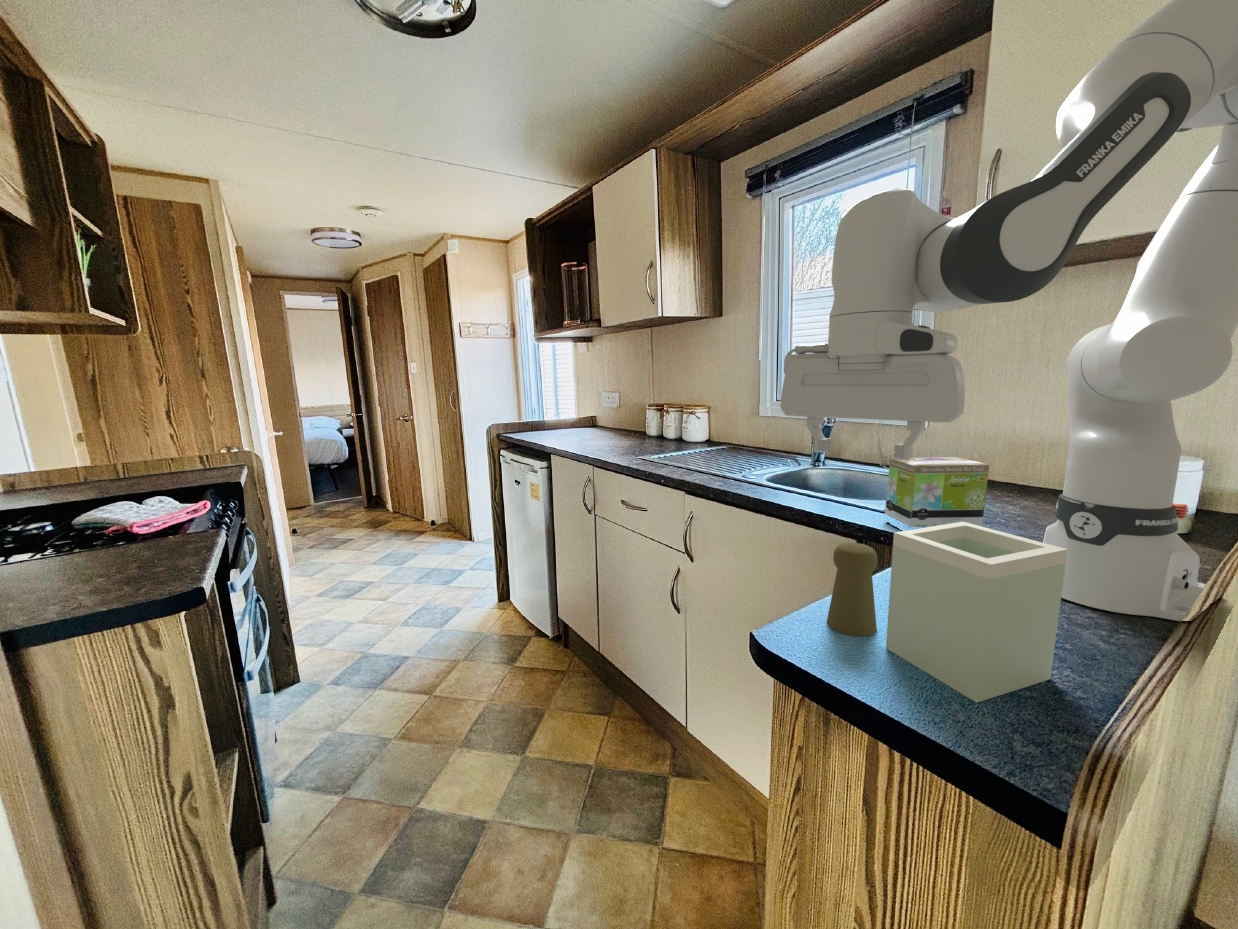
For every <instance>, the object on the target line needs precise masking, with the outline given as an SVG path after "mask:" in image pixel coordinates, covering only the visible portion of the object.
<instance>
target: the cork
mask: <svg viewBox="0 0 1238 929" xmlns="http://www.w3.org/2000/svg"><path fill="white" fill-rule="evenodd" d="M832 560H833V563H834V564H833V565H834V566H835V567H836V574H835V577H834V578H835V579H834V583H833V587H832V588H833V589H832V594H831V599H830V604H829V607H828V608H829V609H828V614H827V618H826V624H827V626H828V627H829V628H830V629H832V630H834V631H835V632H837V633H839V634H842V635H846V636H849V637H858V638H865V637H866V638H867V637H870V636H873V635H875V634H876V633H877V632H878V630H877V629H878V627H877V616H876V605H875V596H874V580H873V572H874V571H875V570H876V569H877V567H878V564H879V562H878V560H879V559H878V554H877V552H876V550H875V549H874V548H872V546H869V545H867V544H865V543H858V542H845V543H840V544H838V545H837V546H836V547H835V549H834V550H833V557H832Z"/></svg>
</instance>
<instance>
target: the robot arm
mask: <svg viewBox="0 0 1238 929" xmlns="http://www.w3.org/2000/svg"><path fill="white" fill-rule="evenodd" d="M1055 120H1056V122H1055V123H1056V124H1055V131H1056V132H1055V134H1056V138H1057V142H1058V144H1059V147H1060V148H1061V150H1060V152H1059V153H1058V154H1057V155H1056V156H1055V157H1054V158H1053V159H1052V160H1051V161H1050V162H1049V163H1048V164H1047V165H1046V166H1045V167H1044V168H1043V169H1042V170H1041V171H1040V172H1039V174H1037V175H1036V176H1035V177H1034V178H1033V179H1032V180H1030V181H1029V182H1028V181H1027V182H1025V183H1023V184H1020V185H1018V186H1014V187H1012V188H1010V189H1007V190H1005V191H1002V192H1000V193H998V194H996V195H994V196H993V197H991V198H989V199H987V200H986V201H984V202H982V203H981V204H979V205H978V206H976V207H975V208H973V209H971V210H970V211H968V212H966V213H964V214H962V215H960V216H958V217H956V218H955V217H951V216H948V215H945V214H943V213H941V212H939V211H937V210H935V209H933V208H931V207H930V206H928V205H927V204H926V203H924V202H923V201H922V200H920V199H919V197H918V196H917V194H916V193H915V191H914V190H913V189H910V188H893V189H889V190H884V191H881V192H877V193H875V194H872V195H870V196H867V197H865V198H862V199H861V200H859V201H858V202H856V203H855V204H854V205H852V206H851V207H850V208H849V209H848V210H847V211H846V212H845V213H844V214H843V215H842V216H841V218H840V220H839V224H838V227H837V231H836V234H835V240H834V241H835V242H834V248H833V255H832V256H833V257H832V268H831V285H832V290H833V302H832V303H833V304H832V306H831V309H830V312H829V316H828V317H829V320H828V323H829V324H828V338H827V340H828V341H827V343H817V344H812V345H810V344H809V345H807V344H806V345H805V344H800V345H796V346H795V347H794V348H793V349H790V350H789V351H788V352H787V353H786V355H785V356H784V360H783V374H784V379H783V382H782V383H783V384H782V389H781V394H780V395H781V396H780V397H781V398H780V406H779V407H780V410H781V411H782V412H783V414H784V415H785V416H788V417H804V418H805V417H806V427H807V429H808V431H809V433H810V434H811V436H812V438H813V440H814V446H813V450H814V452H815V453H823V454H827V453H830V452H831V444H832V438H830V437H829V438H828V437H825V435H824V433H823V431H822V429H821V425H824V419H825V418H828V419H829V418H835V419H853V420H856V419H857V420H878V421H880V420H881V421H882V420H883V421H901V422H902V421H903V422H904V421H905V422H906V431H909V432H911V433H910V434H909V435H908V436H907V438H906V439H905V441H904V442H903V443H902V442H899V443H898V442H897V443H895V444H894V448H893V449H894V450H893V451H894V454H893V458H894V459H899V460H910V459H911V458H912V453H913V445H914V444H915V443H916V442H917V440H918V439H919V438H920V437H921V435H922V434H923V433H924V431H925V430H926V422H927V423H929V422H930V423H952V422H955V421H956V420H958V419H959V418H960V417H962V415H963V413H964V409H965V398H966V397H965V393H966V392H965V378H964V369H963V366H962V364H961V362H960V360H958V359H957V357H954V356H952V355H951V354H953V353H954V352H956V350H957V347H958V338H957V337H956V335H954V334H953V333H949V332H946V331H942V330H937V329H934V328H931V327H930V326H926V325H920V324H918V325H914V323H913V310H914V311H915V310H916V311H923V312H928V313H945V312H950V311H955V310H963V309H967V308H971V307H976V306H980V305H986V304H990V305H991V304H999V303H1010V302H1016V301H1019V300H1023V299H1026V298H1028V297H1030V296H1032V295H1034V294H1036V293H1038V292H1039V291H1040V290H1042V289H1044V288H1045V287H1046V286H1047V285H1049V284H1050V283H1051V282H1053V280H1054V278H1056V277H1057V275H1059V272H1060V271H1061V270H1062V269H1063V267H1064V266H1065V264H1066V263H1067V261H1068V259H1069V258H1070V256H1071V254H1072V253H1073V251H1074V249H1075V247H1076V245H1077V243H1078V241H1079V240H1080V237H1081V236H1082V235H1083V232H1084V231H1085V229H1086V228H1087V226H1088V225H1089V224H1090V223H1091V221H1092V220H1094V218H1095V217H1096V215H1098V213H1099V212H1100V211H1101V210H1102V209H1103V208H1104V207H1105V206H1106V205H1107V204H1108V203H1109V202H1110V201H1111V200H1112V199H1113V198H1114V197H1115V196H1116V195H1117V194H1118V193H1119V192H1120V191H1121V190H1122V189H1123V188H1124V187H1125V186H1126V185H1127V183H1128V182H1130V181H1131V179H1132V178H1133V177H1134V176H1136V174H1138V173H1139V171H1140V170H1142V168H1143V167H1144V166H1145V165H1147V163H1149V161H1150V160H1151V159H1153V157H1154V156H1155V155H1156V154H1157V153H1158V152H1159V151H1160V150H1161V149H1162V148H1163V147H1164V146H1165V144H1166V143H1168V141H1169V140H1170V139H1171V138H1172V137H1173V136H1174V134H1175V133H1184V132H1187V131H1190V130H1193V129H1201V128H1213V127H1221V126H1222V129H1221V134H1220V138H1219V142H1218V144H1217V145H1216V146H1215V147H1214V149H1213V150H1212V151H1211V152H1210V154H1208V156H1207V157H1206V158H1205V160H1204V161H1203V162H1202V163H1201V165H1200V166H1199V167H1198V169H1196V171H1195V173H1194V174H1193V175H1192V177H1191V178H1190V180H1189V181H1188V182H1187V184H1186V185H1185V187H1184V188H1183V190H1182V191H1181V193H1180V194H1179V196H1178V198H1177V199H1176V201H1175V202H1174V204H1173V206H1172V207H1171V209H1170V210H1169V212H1168V214H1167V216H1166V217H1165V218H1164V219H1163V222H1162V223H1161V225H1160V226H1159V228H1158V230H1157V231H1156V232H1155V234H1154V236H1153V238H1152V239H1151V240H1150V242H1149V243H1148V245H1147V247H1146V248H1145V251H1144V252H1143V253H1142V255H1141V257H1140V259H1139V260H1138V262H1137V264H1136V269H1135V274H1134V278H1133V281H1132V283H1131V285H1130V288H1129V290H1128V293H1127V295H1126V298H1125V300H1124V302H1123V305H1122V306H1121V309H1120V310H1119V312H1118V314H1117V316H1116V317H1115V319H1114V320H1113V321H1112V322H1111V323H1109V324H1106V325H1102V326H1099V327H1098V328H1095V329H1093V330H1092V331H1089V332H1088V333H1086V334H1085V335H1083V337H1081V338H1080V339H1079V340H1078V341H1077V342H1076V343H1075V344H1074V346H1073V347H1072V348H1071V350H1070V351H1069V353H1068V355H1067V357H1066V362H1065V370H1066V374H1067V376H1066V378H1067V383H1066V386H1067V390H1066V393H1067V394H1066V396H1067V397H1066V398H1067V399H1066V400H1067V401H1066V402H1067V406H1066V407H1067V422H1068V447H1067V448H1068V450H1067V456H1066V457H1067V459H1066V466H1065V475H1064V483H1063V490H1062V491H1063V492H1061V493H1060V494H1059V495H1058V500H1057V501H1056V505H1055V506H1056V511H1055V513H1056V514H1055V517H1056V518H1057V520H1056V521H1055V522H1054V523H1051V524H1049V525H1048V526H1047V527H1046V528H1045V533H1044V537H1043V540H1042V543H1046V544H1049V545H1053V546H1057V547H1061V548H1064V549H1068V550H1067V557H1066V565H1065V572H1064V580H1063V588H1062V595H1061V599H1063V600H1067V601H1071V602H1073V603H1076V604H1079V605H1084V606H1086V607H1090V608H1094V609H1098V610H1104V611H1108V612H1113V613H1118V614H1126V615H1135V616H1146V617H1155V618H1160V619H1167V620H1169V621H1170V620H1171V621H1176V622H1181V621H1180V620H1181V619H1182V618H1183V617H1184V616H1185V615H1186V613H1188V611H1189V610H1190V608H1191V607H1192V605H1193V604H1194V602H1195V601H1196V599H1197V597H1199V595H1200V593H1201V592H1202V591H1203V588H1204V587H1205V585H1206V584H1205V583H1202V582H1199V581H1198V578H1199V571H1200V570H1199V569H1200V563H1201V562H1200V561H1201V559H1200V555H1199V553H1197V552H1196V551H1195V550H1194V549H1193V548H1192V547H1191V546H1190V545H1189V544H1188V543H1187V542H1186V541H1184V539H1183V538H1182V537H1181V536H1179V534H1178V533H1176V532H1178V531H1179V525H1178V524H1179V523H1178V522H1179V520H1180V519H1182V520H1183V519H1186V518H1187V515H1188V514H1189V513H1188V512H1189V510H1190V509H1189V506H1188V504H1183V503H1182V504H1181V503H1173V502H1174V496H1175V492H1176V484H1177V480H1178V473H1179V467H1180V459H1181V456H1182V444H1181V442H1180V440H1179V438H1178V435H1177V432H1176V428H1175V423H1174V414H1173V406H1172V405H1173V404H1172V401H1175V400H1178V399H1182V398H1185V397H1188V396H1191V395H1193V394H1196V393H1199V392H1201V391H1203V390H1205V389H1207V388H1208V387H1210V386H1212V385H1213V384H1214V383H1215V382H1217V381H1218V380H1219V379H1220V378H1221V377H1222V376H1223V375H1224V374H1225V373H1226V371H1227V369H1228V368H1229V365H1230V364H1231V362H1232V358H1233V343H1232V337H1233V336H1234V334H1235V331H1236V329H1237V327H1238V0H1170V1H1169V2H1168V3H1167V4H1165V5H1164V6H1163V7H1161V8H1159V10H1157V11H1155V13H1153V14H1152V15H1151V16H1149V17H1148V18H1147V19H1146V20H1144V21H1142V23H1140V25H1138V26H1137V27H1136V28H1134V29H1133V30H1132V31H1131V32H1130V33H1128V35H1127V36H1126V37H1124V38H1123V39H1122V40H1121V41H1120V42H1119V43H1117V44H1116V45H1115V46H1114V47H1113V48H1112V49H1111V50H1110V51H1109V52H1108V53H1107V54H1106V55H1105V56H1103V57H1102V58H1101V59H1100V60H1099V61H1098V63H1097V64H1095V66H1093V67H1092V68H1091V69H1090V70H1089V71H1088V73H1087V74H1085V76H1084V77H1083V78H1082V79H1081V80H1080V82H1079V83H1078V84H1077V85H1076V87H1074V89H1073V90H1072V91H1071V92H1070V94H1069V95H1068V96H1067V98H1066V99H1065V101H1064V102H1063V103H1062V104H1061V106H1060V107H1059V110H1058V112H1057V115H1056V119H1055ZM793 353H794V354H793Z"/></svg>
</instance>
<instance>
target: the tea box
mask: <svg viewBox="0 0 1238 929" xmlns="http://www.w3.org/2000/svg"><path fill="white" fill-rule="evenodd" d="M888 466H889V467H888V475H887V476H888V479H887V487H886V488H887V490H886V497H885V511H884V515H885V514H887V515H888V516H890V517H892V518H894V519H896V520H898V521H900V522H902V523H903V524H906V525H907V526H909V527H923V528H924V527H932V526H938V525H944V524H951V523H957V522H967V523H970V524H974V525H978V526H982V527H983V521H984V514H985V505H986V496H987V490H988V489H987V487H988V479H989V472H990V463H989V464H988V463H985V462H984V463H983V462H981V461H976V460H971V459H969V458H968V459H967V458H964V457H958V456H947V457H946V456H937V457H936V456H935V457H934V456H932V457H930V456H929V457H927V456H923V457H911V459H910V460H899V459H894V457H890V459H889V465H888Z"/></svg>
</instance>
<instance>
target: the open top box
mask: <svg viewBox="0 0 1238 929" xmlns="http://www.w3.org/2000/svg"><path fill="white" fill-rule="evenodd" d="M892 541H893V542H892V552H891V554H892V556H891V569H890V570H891V571H890V581H889V583H890V585H889V586H890V587H889V596H888V610H887V611H888V612H887V613H888V614H887V626H886V628H887V629H886V639H885V649H886V650H888V651H890V652H892V653H893V654H895V655H896V656H898V657H900V658H901V659H903V660H905V661H906V662H908V663H910V664H912V665H914V667H916V668H917V669H920V670H921V671H923V672H925V673H926V674H928V675H929V676H930V677H933V678H935V679H936V680H938V681H940V682H941V683H943V684H944V685H946V686H949V688H952V689H953V690H955V691H956V692H957V693H960V694H961V695H963V696H965V697H966V698H968V699H969V700H971V701H973V702H974V703H976V704H977V703H980V702H983V701H987V700H989V699H992V698H996V697H998V696H1002V695H1005V694H1008V693H1011V692H1014V691H1017V690H1022V689H1025V688H1028V687H1030V686H1033V685H1037V684H1039V683H1042V682H1046V681H1048V680H1051V678H1052V671H1053V663H1054V656H1055V655H1054V654H1055V647H1056V640H1057V634H1058V633H1057V632H1058V624H1059V617H1060V610H1061V601H1062V598H1061V595H1062V588H1063V580H1064V572H1065V565H1066V557H1067V550H1068V549H1064V548H1061V547H1057V546H1053V545H1049V544H1046V543H1043V541H1037V540H1035V539H1029V538H1026V537H1023V536H1019V535H1015V534H1012V533H1008V532H1004V531H1000V530H996V529H993V528H988V527H985V526H983V525H982V526H978V525H974V524H970V523H967V522H957V523H951V524H944V525H938V526H932V527H925V528H919V529H913V530H906V531H901V530H899V531H896V532H893V540H892Z"/></svg>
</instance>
